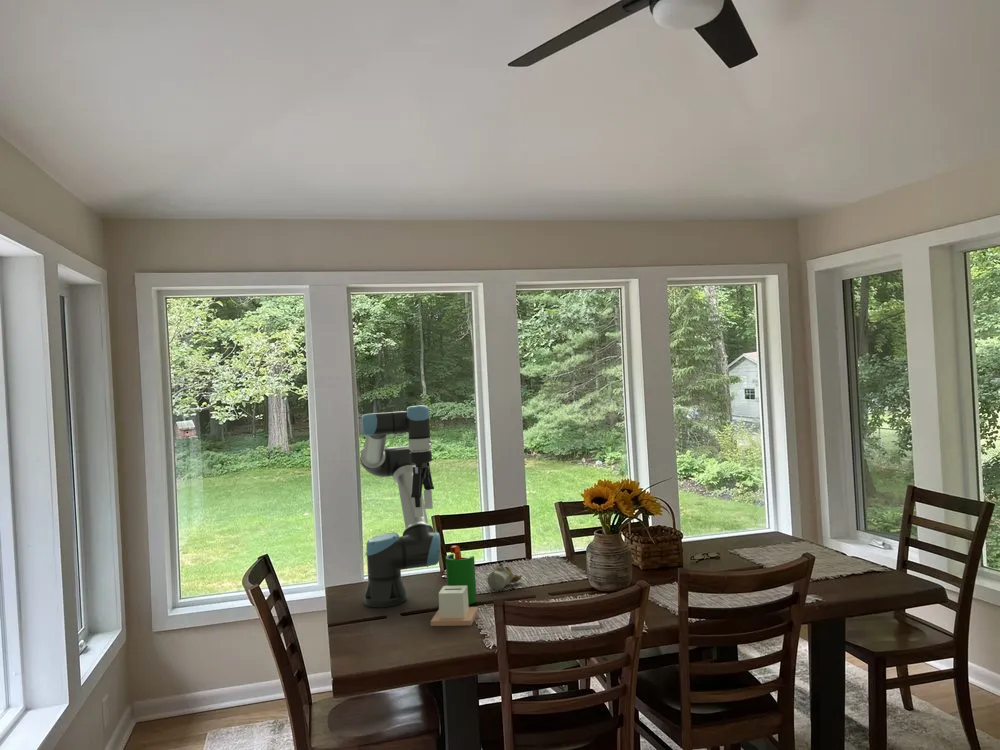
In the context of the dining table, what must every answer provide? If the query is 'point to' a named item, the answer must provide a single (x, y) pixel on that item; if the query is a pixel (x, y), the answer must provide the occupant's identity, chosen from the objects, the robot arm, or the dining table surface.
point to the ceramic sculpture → (501, 577)
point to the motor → (461, 572)
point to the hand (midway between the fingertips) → (424, 512)
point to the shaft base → (455, 619)
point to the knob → (453, 601)
